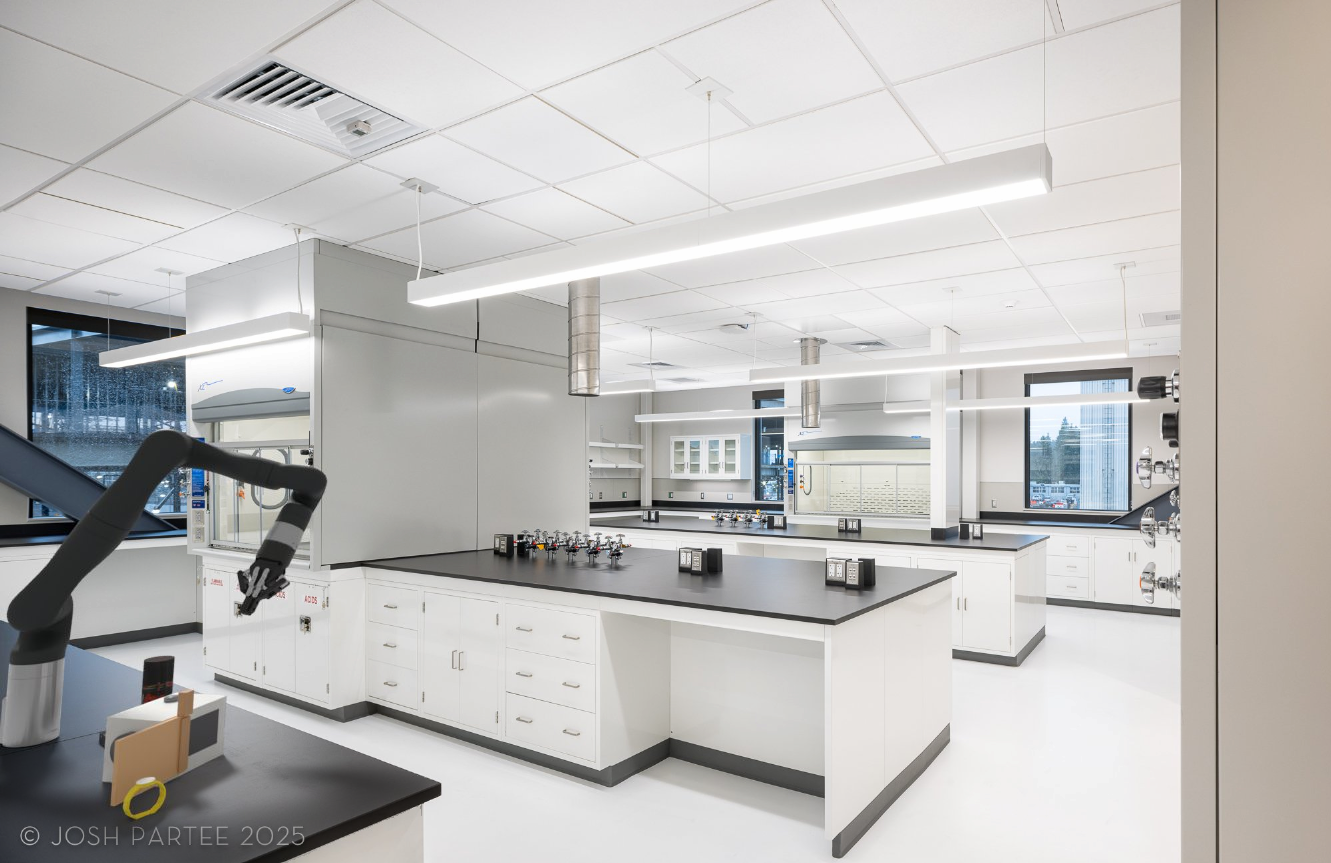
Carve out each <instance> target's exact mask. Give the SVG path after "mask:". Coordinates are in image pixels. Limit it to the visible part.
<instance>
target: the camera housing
mask: <svg viewBox="0 0 1331 863" xmlns="http://www.w3.org/2000/svg"><path fill="white" fill-rule="evenodd" d="M178 693H179V692H172V694H171V695H168V696H165V697H162V698H159V699H156V700H154V701H151V702H148V703H145V704H142V705H141V704H140V705H136V706H135V707H131V708H129V709H126V710H123V711H121V712H117V713H115V714H112V715H109V716H107V717H106V726H105V731H106V737H105V746H104V751H103V752H104V754H103V767H102V768H103V769H102V782H103V783H112V778H113V764H114V749H115V741H116V740H118V739H121V738H124V737H126V736H129V735H131V734H134V733H136V732H139V731H141V730H144V729H146V728H149V727H151V726H154V725H156V724H159V723H161V722H164V721H166V720H169V719H172V718H174V717H177V709H178ZM227 698H228V697H227V695H219V694H206V693H205V694H204V693H194V702H193V714H190V715H189V716H191V721H190V736H189V752H188V768H187V769H186V771H185V772H183V773H181V774H179V775H177V776H175V777H173V778H170V779H168V780H166V781H164V782H162V784H163V785H164V784H166V783H168V782H171V781H173V780H174V779H177V778H178V777H180V776H183V775H185V774H186V773H189V772H190V771H192V770H195V769H196V768H198V767H201V766H202V765H205V764H206V763H208V762H210V761H212V760H215V759H216V758H218V757H220V756H222V755H224V751H225V750H224V749H225V748H224V747H225V734H226V733H225V728H226V717H227V716H226V715H227V713H226V712H227V700H228V699H227ZM154 787H155V788H156V787H157V788H159V786H158V785H156V786H154Z"/></svg>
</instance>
